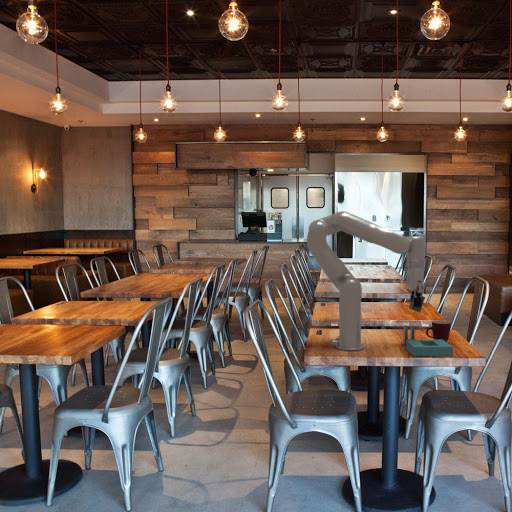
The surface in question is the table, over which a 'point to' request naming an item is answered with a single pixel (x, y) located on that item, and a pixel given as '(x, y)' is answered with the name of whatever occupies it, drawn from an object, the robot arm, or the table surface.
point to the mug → (440, 330)
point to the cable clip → (412, 331)
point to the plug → (413, 304)
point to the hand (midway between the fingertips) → (415, 305)
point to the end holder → (429, 347)
